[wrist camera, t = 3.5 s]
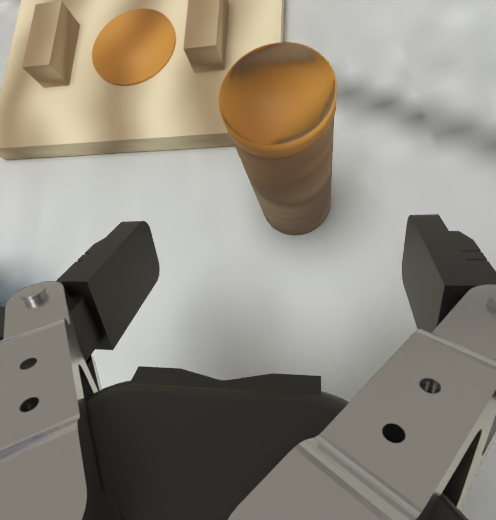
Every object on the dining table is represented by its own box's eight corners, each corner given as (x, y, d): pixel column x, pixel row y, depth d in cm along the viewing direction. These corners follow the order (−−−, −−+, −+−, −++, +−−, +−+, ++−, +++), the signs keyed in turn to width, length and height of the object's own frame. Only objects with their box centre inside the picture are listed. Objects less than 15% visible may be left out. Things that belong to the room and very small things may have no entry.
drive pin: (331, 169, 23) (336, 35, 13) (331, 235, 22) (337, 142, 12) (263, 172, 24) (221, 48, 14) (260, 236, 23) (214, 149, 13)
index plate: (285, -35, 27) (280, -90, 24) (280, 142, 24) (273, 108, 20) (38, 2, 31) (4, -40, 28) (5, 159, 28) (-39, 133, 24)
